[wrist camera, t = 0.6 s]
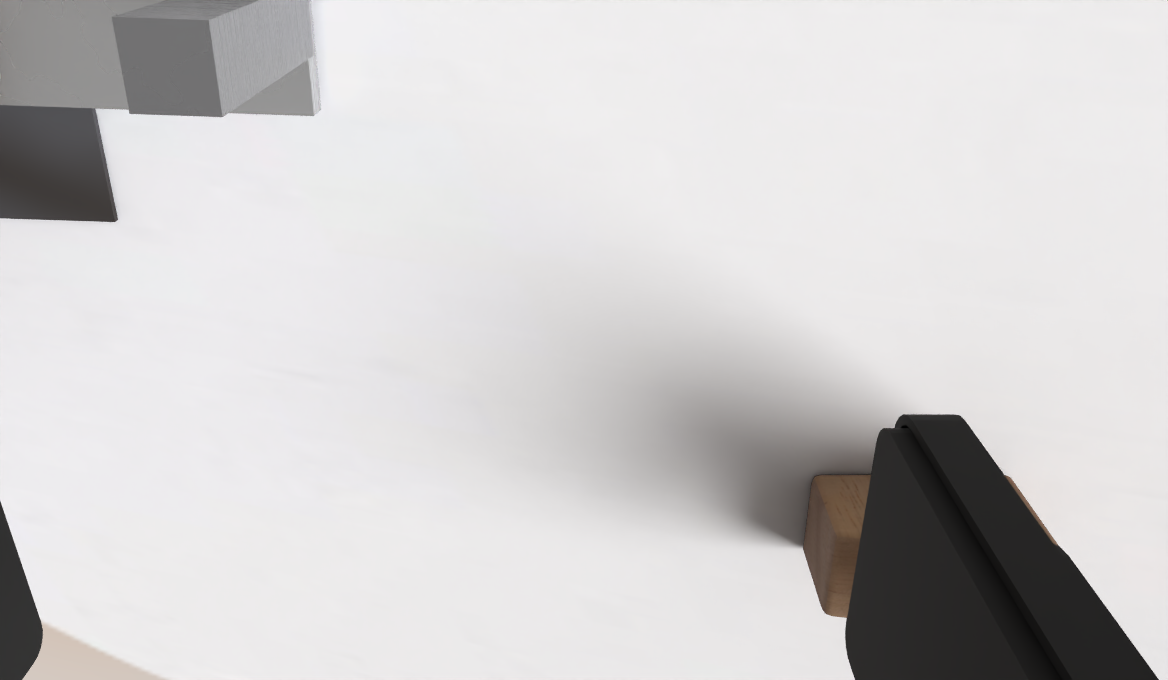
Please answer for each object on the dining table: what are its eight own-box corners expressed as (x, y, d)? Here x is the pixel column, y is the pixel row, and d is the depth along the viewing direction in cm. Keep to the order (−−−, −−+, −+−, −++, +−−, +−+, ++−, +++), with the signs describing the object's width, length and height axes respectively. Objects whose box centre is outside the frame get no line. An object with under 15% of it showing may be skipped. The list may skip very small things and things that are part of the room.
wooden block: (800, 550, 44) (925, 945, 28) (810, 471, 42) (951, 848, 26) (991, 549, 44) (1227, 944, 28) (1010, 470, 42) (1277, 847, 25)
